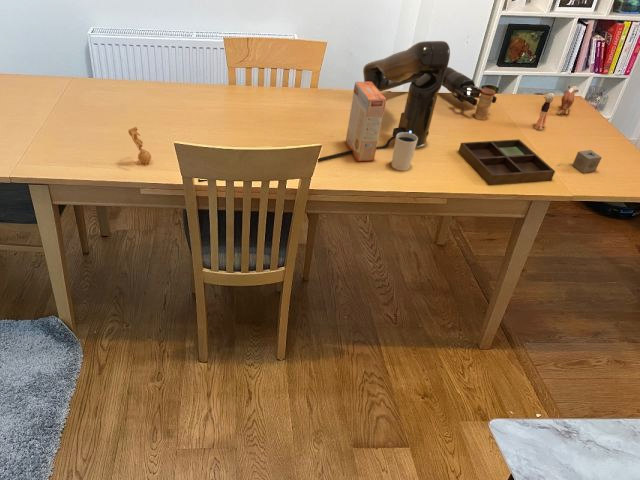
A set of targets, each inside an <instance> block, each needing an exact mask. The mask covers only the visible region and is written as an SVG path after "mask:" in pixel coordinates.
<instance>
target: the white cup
mask: <svg viewBox="0 0 640 480" xmlns="http://www.w3.org/2000/svg"><path fill="white" fill-rule="evenodd" d="M417 140H418V137H417V136H416V135H414V134H412V133H408V132H401V133H398V134H397V135H396V138H395V139H394V146H393V151H392V159H391V167H392V168H393V169H395V170H398V171H407V170H409V169H410V167H411V164H412V160H413V157H414V154H415V150H416V148H415V147H416V144H417Z"/></svg>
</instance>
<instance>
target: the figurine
mask: <svg viewBox="0 0 640 480" xmlns="http://www.w3.org/2000/svg"><path fill="white" fill-rule="evenodd" d="M138 130H139V129H138V127H137V126H134V127H132V128H129V129H128V135H129V136H130V137H131V139H132V141H133V143H134V144H135V145H136V147H137V148H138V151H139V153H138V155H137V159H138V161H139V163H142V164H149V163H150V162H151V160H152V155H151V152H149V151H148V150H146V149H144V148H142V147H143V146H144V145H143V144H144V143H143V140H142V139H140V138H139V136H141V135H140V133H139V132H138Z"/></svg>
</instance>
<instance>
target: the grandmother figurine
mask: <svg viewBox="0 0 640 480" xmlns="http://www.w3.org/2000/svg"><path fill="white" fill-rule="evenodd" d="M543 98H544V101H545V102H544V103H543V104H542V106H541V109H540V112H539V116H538V117H539V118H538V119H537V121H536V123H535V124H534V129H535V130H538V131H543V127H545V126H546V124H547V119H548V112H549V110H550V108H551V107H550V106H551V104H552V103H553V101H554V98H555V94H554V93H553V92H548V93H546V94H545V95H544V96H543Z"/></svg>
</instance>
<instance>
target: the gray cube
mask: <svg viewBox="0 0 640 480" xmlns="http://www.w3.org/2000/svg"><path fill="white" fill-rule="evenodd" d="M601 160H602V156H601V155H599V154H597V153H596V152H595V151H594V150H591V149H589V150H581V151H577V153H576V155H575V158H574V160H573V162H572V167H573V168H575V169H576V170H578V171H579V172H580V173H581V174H585V173H592V172H596V171H597V170H598V169H597V168H598V166H599V165H600V162H601Z"/></svg>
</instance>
